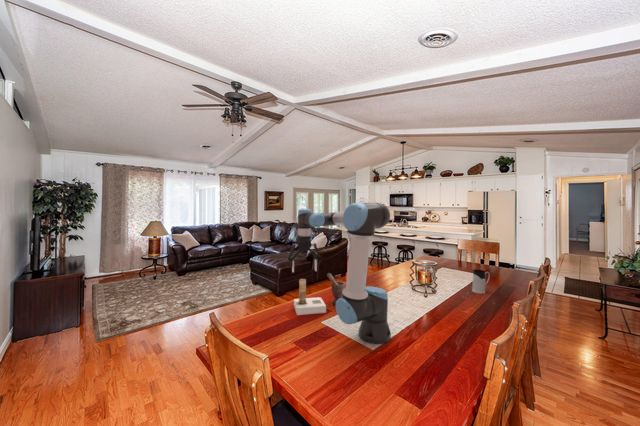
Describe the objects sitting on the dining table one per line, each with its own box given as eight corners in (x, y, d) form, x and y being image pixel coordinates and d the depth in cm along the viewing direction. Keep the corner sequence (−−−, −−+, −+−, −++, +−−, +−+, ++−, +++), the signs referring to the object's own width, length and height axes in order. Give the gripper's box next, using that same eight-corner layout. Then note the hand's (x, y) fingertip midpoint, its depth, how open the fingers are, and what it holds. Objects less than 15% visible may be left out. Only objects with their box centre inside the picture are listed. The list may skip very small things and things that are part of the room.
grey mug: (468, 289, 195) (469, 269, 194) (483, 288, 200) (484, 268, 199) (479, 294, 187) (480, 273, 186) (494, 292, 191) (495, 271, 190)
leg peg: (306, 310, 156) (306, 280, 155) (299, 311, 155) (299, 281, 154) (305, 308, 160) (305, 278, 159) (298, 308, 159) (298, 279, 158)
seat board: (326, 312, 154) (326, 305, 154) (297, 315, 150) (297, 308, 150) (320, 303, 167) (320, 297, 167) (293, 305, 163) (293, 299, 163)
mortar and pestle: (334, 308, 160) (334, 275, 159) (324, 304, 166) (325, 272, 165) (347, 304, 167) (348, 272, 166) (338, 299, 174) (338, 269, 173)
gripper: (323, 234, 162) (323, 268, 162) (282, 235, 156) (282, 270, 157) (326, 235, 154) (326, 271, 155) (283, 236, 148) (283, 274, 149)
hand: (304, 271), depth 156 cm, fingers open, 13 cm apart
